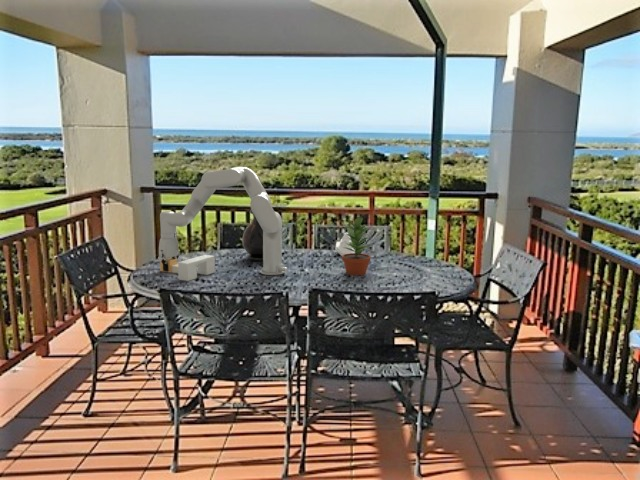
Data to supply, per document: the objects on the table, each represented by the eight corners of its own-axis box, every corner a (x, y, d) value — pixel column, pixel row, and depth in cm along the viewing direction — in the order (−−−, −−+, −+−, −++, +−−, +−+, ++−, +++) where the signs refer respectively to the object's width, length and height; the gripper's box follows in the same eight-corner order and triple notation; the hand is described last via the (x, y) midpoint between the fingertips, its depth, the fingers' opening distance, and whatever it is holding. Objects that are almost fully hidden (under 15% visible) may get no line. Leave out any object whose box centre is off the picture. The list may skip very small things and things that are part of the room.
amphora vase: (275, 263, 297) (275, 213, 292) (237, 262, 300) (236, 212, 295) (283, 255, 318) (283, 208, 312) (248, 253, 321) (248, 207, 316)
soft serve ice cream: (354, 254, 332) (360, 232, 327) (352, 261, 317) (358, 239, 313) (334, 248, 332) (340, 226, 328) (331, 255, 318) (338, 233, 314)
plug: (196, 273, 274) (196, 262, 273) (189, 275, 269) (188, 264, 268) (167, 268, 283) (167, 257, 282) (160, 270, 278) (159, 259, 277)
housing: (214, 272, 277) (214, 256, 276) (188, 280, 260) (187, 263, 259) (205, 270, 280) (205, 254, 279) (178, 279, 263) (178, 262, 261)
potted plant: (362, 268, 289) (363, 212, 284) (374, 275, 275) (376, 217, 270) (336, 270, 284) (337, 214, 278) (348, 277, 270) (349, 218, 265)
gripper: (175, 232, 285) (176, 265, 288) (150, 237, 270) (152, 272, 273) (185, 233, 281) (187, 267, 284) (161, 238, 266) (163, 274, 270)
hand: (170, 269), depth 279 cm, fingers closed on plug, 5 cm apart
